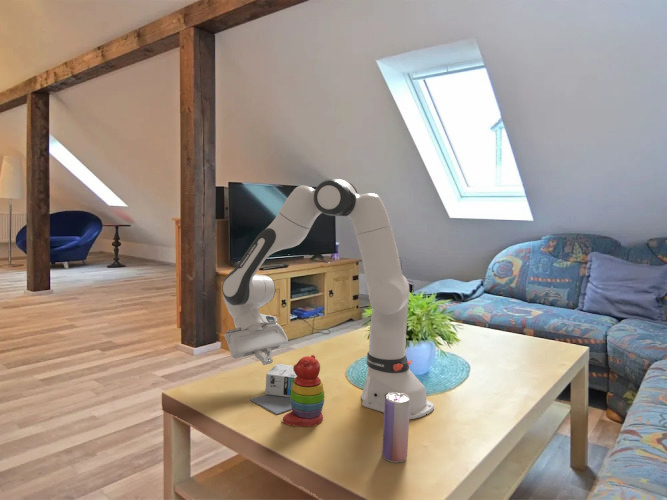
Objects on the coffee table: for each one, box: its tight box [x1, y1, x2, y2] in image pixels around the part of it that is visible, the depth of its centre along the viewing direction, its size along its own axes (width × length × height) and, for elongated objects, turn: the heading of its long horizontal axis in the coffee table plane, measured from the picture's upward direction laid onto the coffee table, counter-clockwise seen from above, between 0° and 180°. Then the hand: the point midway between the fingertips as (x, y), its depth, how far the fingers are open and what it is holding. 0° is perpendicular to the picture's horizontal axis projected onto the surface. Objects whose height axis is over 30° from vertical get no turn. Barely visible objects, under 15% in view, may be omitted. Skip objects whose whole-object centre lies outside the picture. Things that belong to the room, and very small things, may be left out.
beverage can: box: [381, 393, 410, 464], centre depth 119 cm, size 6×6×15 cm
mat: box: [250, 393, 292, 416], centre depth 149 cm, size 13×15×1 cm
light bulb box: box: [264, 363, 297, 398], centre depth 156 cm, size 11×7×11 cm
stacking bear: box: [282, 354, 325, 428], centre depth 137 cm, size 11×10×18 cm
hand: (268, 363), depth 154 cm, fingers closed
